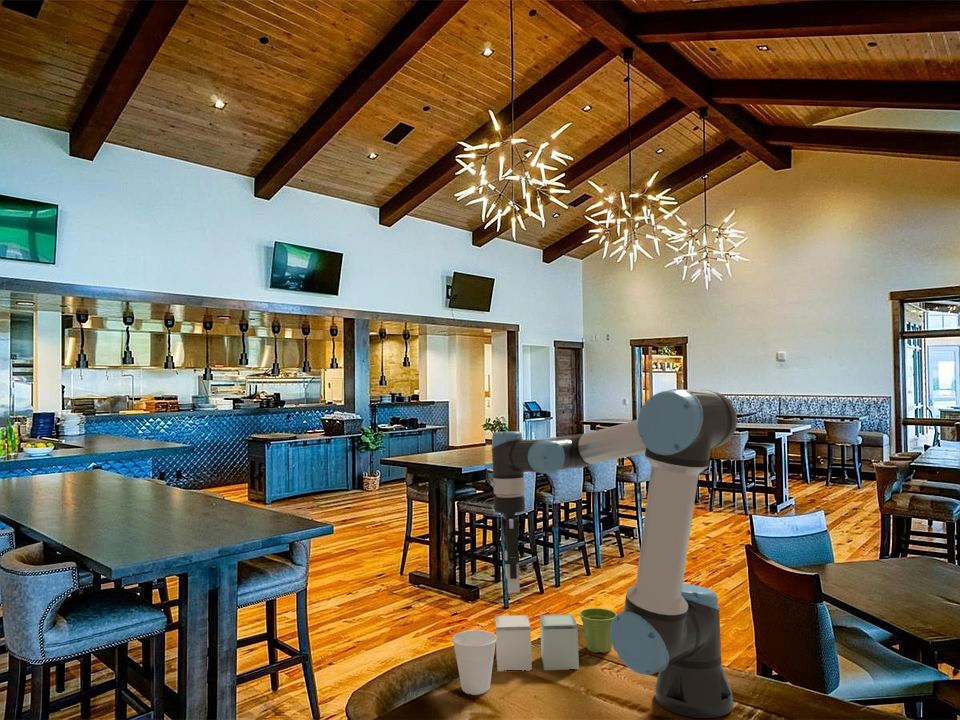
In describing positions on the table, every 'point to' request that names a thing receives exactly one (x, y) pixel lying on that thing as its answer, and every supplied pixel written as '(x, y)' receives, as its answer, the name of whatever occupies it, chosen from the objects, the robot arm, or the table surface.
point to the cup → (475, 659)
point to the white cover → (513, 643)
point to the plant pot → (597, 628)
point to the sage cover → (559, 642)
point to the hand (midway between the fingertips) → (512, 584)
